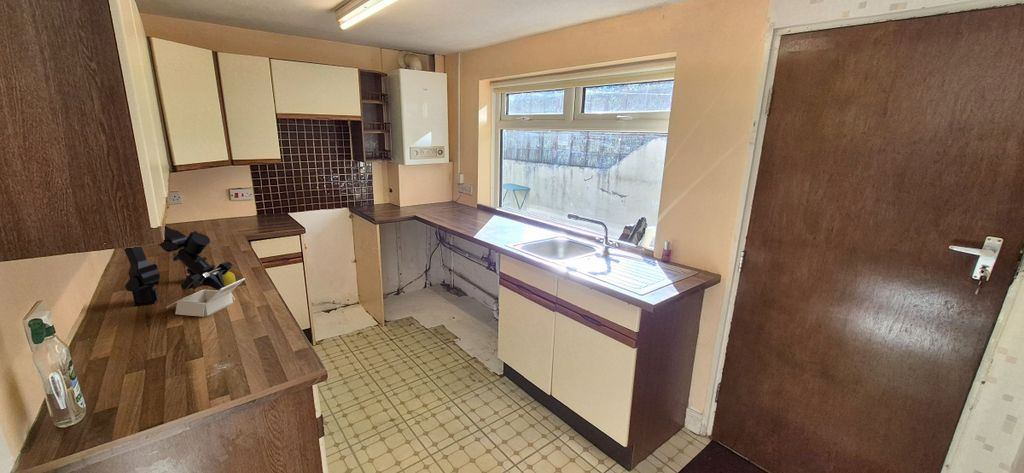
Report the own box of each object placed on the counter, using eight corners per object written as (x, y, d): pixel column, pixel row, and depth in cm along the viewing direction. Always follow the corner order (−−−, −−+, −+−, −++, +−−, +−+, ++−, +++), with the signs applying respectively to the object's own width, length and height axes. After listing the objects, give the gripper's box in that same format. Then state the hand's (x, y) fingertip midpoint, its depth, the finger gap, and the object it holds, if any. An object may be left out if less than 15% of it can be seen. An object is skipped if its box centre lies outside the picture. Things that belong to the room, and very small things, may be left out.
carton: (162, 314, 153) (159, 302, 152) (197, 298, 168) (195, 286, 167) (203, 318, 151) (201, 305, 150) (236, 301, 166) (234, 289, 165)
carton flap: (206, 302, 152) (220, 288, 149) (230, 290, 163) (244, 277, 161) (206, 303, 152) (221, 289, 149) (231, 291, 163) (245, 278, 161)
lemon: (229, 291, 176) (226, 273, 174) (218, 290, 177) (215, 272, 175) (239, 286, 181) (237, 269, 179) (229, 285, 182) (226, 268, 180)
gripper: (203, 267, 166) (232, 294, 167) (159, 283, 148) (192, 314, 149) (218, 249, 163) (247, 277, 164) (175, 264, 145) (208, 295, 147)
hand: (224, 291), depth 156 cm, fingers closed, pressing on carton flap
